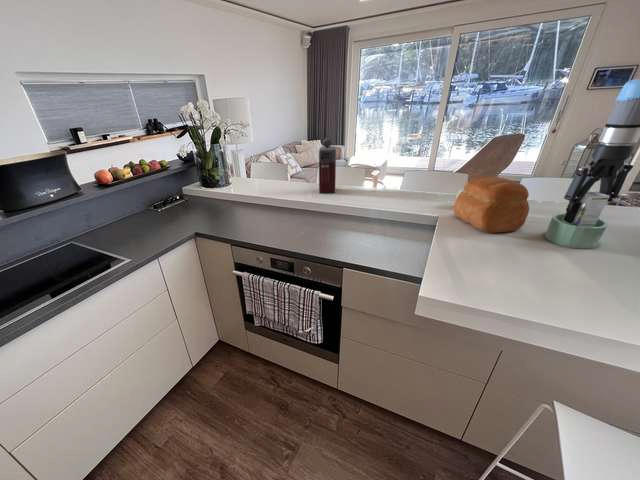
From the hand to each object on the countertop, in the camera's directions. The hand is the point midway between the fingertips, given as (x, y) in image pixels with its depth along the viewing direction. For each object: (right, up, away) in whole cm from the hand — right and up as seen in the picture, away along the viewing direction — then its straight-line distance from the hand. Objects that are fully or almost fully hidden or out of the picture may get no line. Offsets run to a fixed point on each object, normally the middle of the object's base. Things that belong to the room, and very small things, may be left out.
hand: (579, 220), depth 92 cm
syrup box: (+1, -5, +3) cm, 6 cm away
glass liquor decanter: (-69, +28, +72) cm, 103 cm away
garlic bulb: (-13, +12, +36) cm, 41 cm away
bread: (-16, +2, +20) cm, 26 cm away
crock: (+1, -6, +3) cm, 7 cm away
